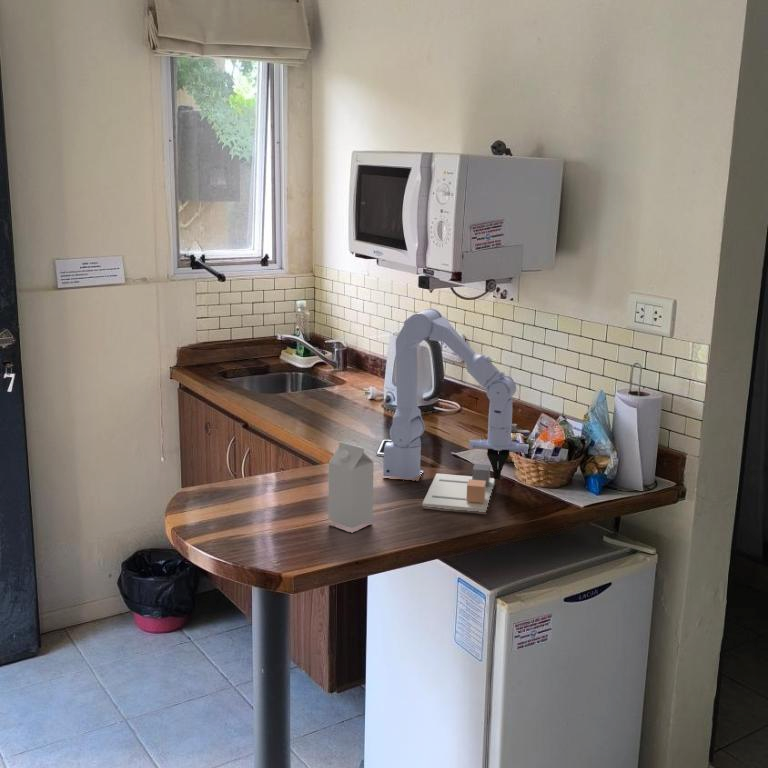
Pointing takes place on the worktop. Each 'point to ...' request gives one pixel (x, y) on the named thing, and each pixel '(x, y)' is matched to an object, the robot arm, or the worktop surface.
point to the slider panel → (454, 493)
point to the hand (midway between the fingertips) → (497, 478)
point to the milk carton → (350, 486)
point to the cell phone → (382, 446)
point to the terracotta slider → (476, 491)
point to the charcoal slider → (481, 473)
